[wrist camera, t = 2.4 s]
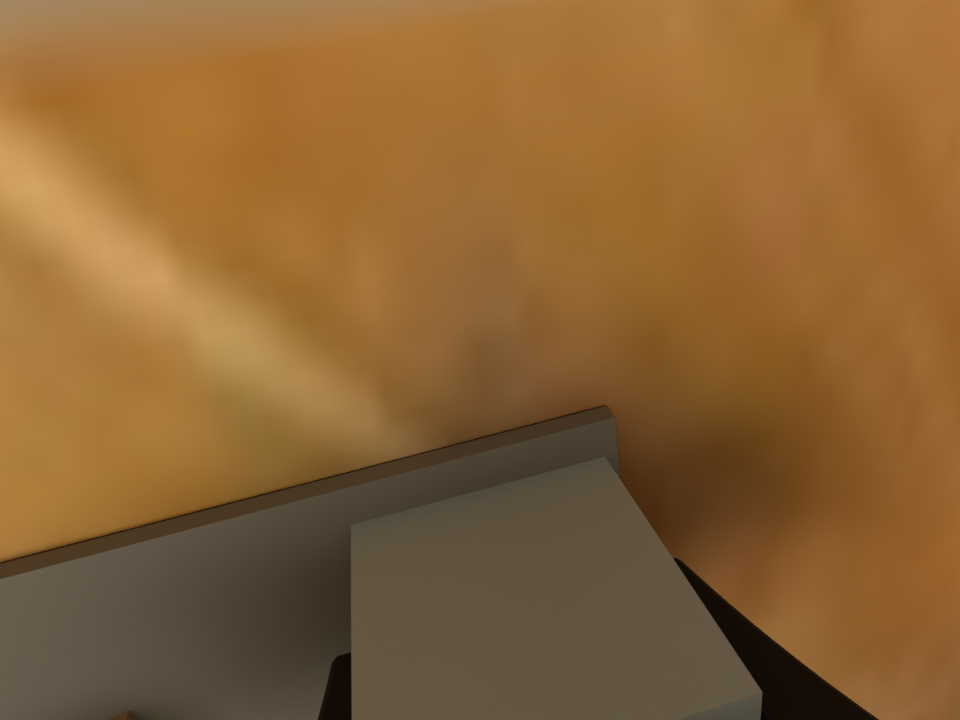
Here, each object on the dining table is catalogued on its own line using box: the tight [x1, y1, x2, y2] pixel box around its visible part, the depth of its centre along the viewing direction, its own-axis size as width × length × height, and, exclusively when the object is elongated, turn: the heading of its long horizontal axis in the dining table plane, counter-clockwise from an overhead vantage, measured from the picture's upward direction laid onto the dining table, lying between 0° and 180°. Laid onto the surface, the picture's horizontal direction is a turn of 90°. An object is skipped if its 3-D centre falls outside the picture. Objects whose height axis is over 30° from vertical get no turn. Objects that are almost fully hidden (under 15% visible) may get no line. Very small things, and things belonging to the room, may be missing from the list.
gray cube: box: [351, 457, 762, 720], centre depth 9 cm, size 4×4×4 cm
